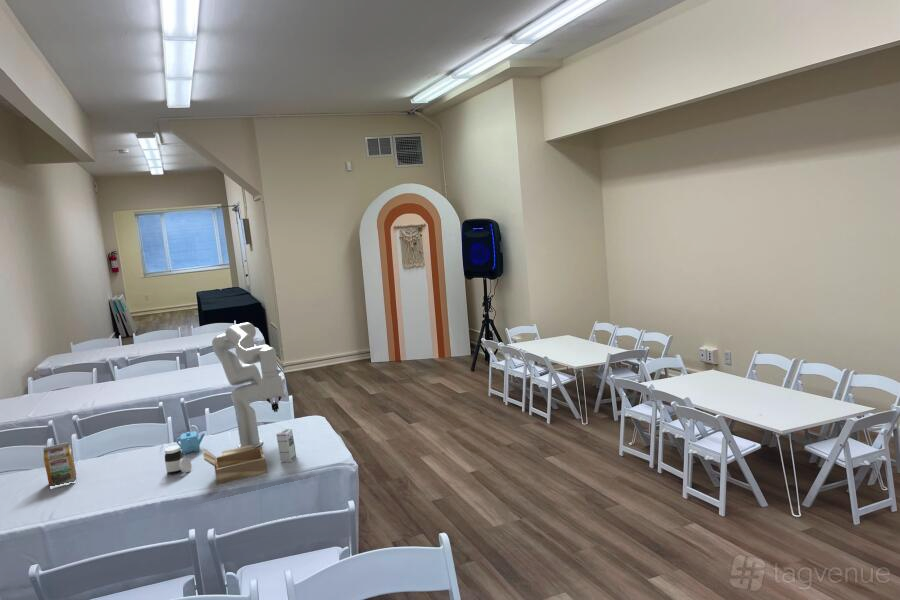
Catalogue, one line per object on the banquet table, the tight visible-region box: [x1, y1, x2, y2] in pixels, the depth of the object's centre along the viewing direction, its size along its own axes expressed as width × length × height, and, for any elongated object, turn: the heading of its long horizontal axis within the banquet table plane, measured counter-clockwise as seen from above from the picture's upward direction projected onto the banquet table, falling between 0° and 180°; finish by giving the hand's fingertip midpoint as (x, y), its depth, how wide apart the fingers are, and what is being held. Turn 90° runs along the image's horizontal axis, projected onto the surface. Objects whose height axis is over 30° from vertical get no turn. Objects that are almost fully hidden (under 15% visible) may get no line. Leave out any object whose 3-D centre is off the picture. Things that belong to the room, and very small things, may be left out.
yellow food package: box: [42, 442, 77, 488], centre depth 309 cm, size 11×11×19 cm
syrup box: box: [275, 428, 297, 463], centre depth 312 cm, size 6×6×14 cm
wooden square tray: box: [214, 445, 268, 485], centre depth 305 cm, size 22×22×7 cm
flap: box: [203, 448, 217, 468], centre depth 297 cm, size 13×7×1 cm
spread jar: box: [164, 444, 193, 475], centre depth 310 cm, size 12×11×12 cm
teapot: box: [175, 430, 206, 455], centre depth 336 cm, size 18×14×10 cm
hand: (275, 411), depth 308 cm, fingers closed
